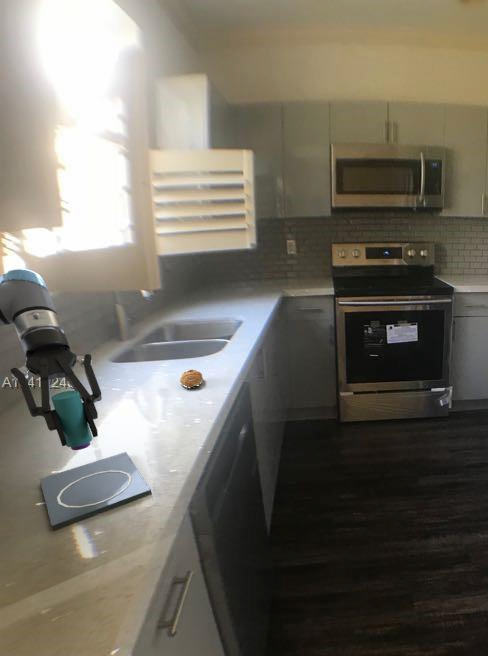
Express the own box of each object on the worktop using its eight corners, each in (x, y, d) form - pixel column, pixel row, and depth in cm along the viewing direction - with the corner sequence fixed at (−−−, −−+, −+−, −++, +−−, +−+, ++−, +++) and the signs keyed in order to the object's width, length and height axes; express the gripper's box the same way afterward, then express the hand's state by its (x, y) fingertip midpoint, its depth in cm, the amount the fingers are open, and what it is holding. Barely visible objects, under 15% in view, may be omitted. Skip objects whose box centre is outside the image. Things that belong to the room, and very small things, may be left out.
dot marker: (66, 446, 90) (49, 394, 86) (91, 438, 93) (76, 388, 89) (69, 454, 87) (53, 401, 83) (95, 446, 90) (80, 394, 86)
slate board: (41, 482, 93) (39, 478, 93) (127, 455, 103) (125, 451, 102) (53, 530, 79) (51, 525, 78) (151, 493, 88) (150, 489, 88)
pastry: (205, 387, 141) (203, 376, 140) (181, 391, 139) (179, 380, 137) (202, 378, 149) (200, 367, 148) (180, 382, 147) (178, 371, 145)
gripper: (-17, 335, 84) (19, 446, 78) (91, 319, 95) (130, 416, 89) (-9, 357, 90) (26, 462, 84) (93, 339, 100) (129, 431, 94)
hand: (79, 438), depth 86 cm, fingers closed on dot marker, 4 cm apart
